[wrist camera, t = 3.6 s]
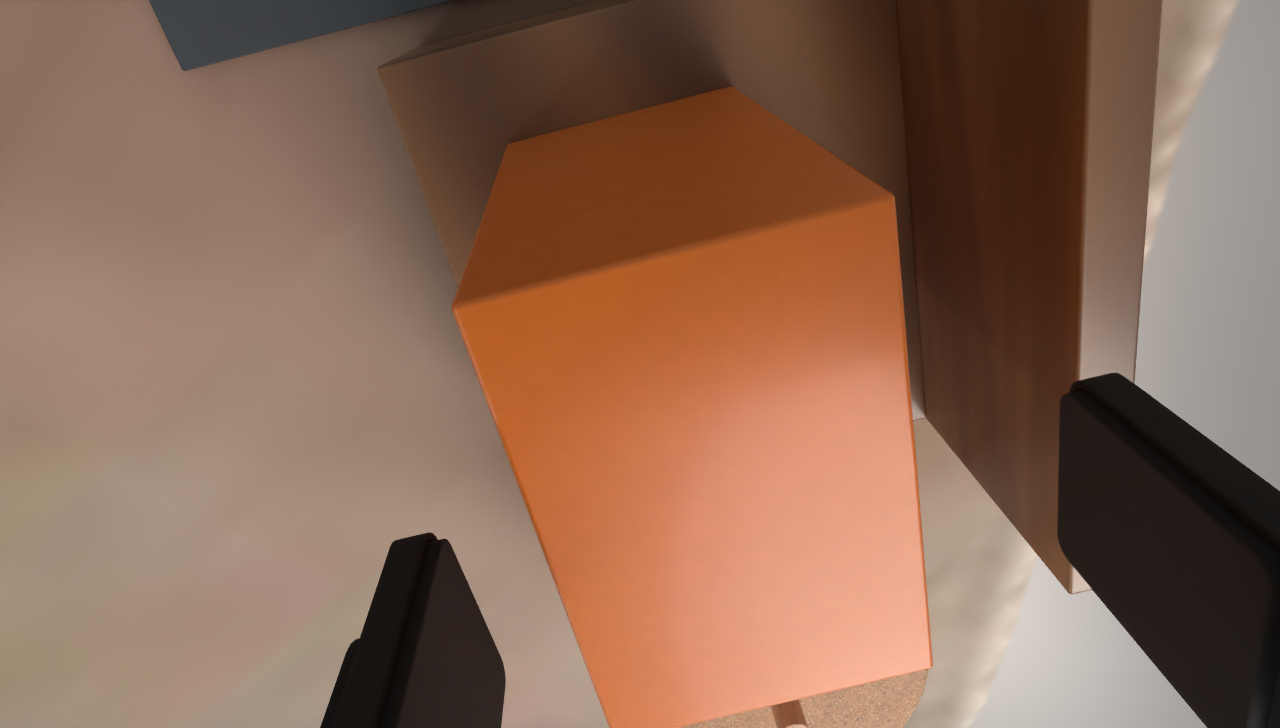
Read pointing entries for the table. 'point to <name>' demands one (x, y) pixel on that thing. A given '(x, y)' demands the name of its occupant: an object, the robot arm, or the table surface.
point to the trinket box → (837, 708)
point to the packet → (705, 405)
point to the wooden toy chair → (877, 172)
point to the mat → (262, 23)
